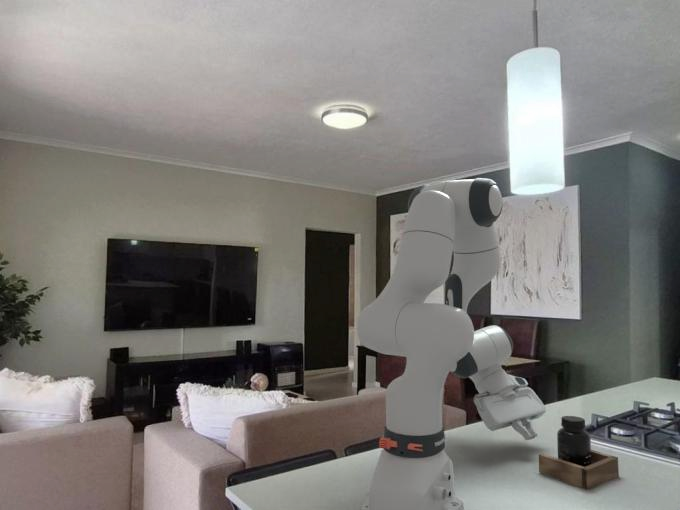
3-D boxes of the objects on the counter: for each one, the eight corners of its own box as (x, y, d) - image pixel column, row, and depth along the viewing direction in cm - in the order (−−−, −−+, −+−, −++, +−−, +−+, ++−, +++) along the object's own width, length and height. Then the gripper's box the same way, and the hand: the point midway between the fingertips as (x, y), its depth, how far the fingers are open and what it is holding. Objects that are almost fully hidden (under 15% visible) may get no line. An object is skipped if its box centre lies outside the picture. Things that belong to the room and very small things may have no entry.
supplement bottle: (596, 480, 106) (593, 423, 106) (562, 477, 107) (560, 422, 108) (586, 467, 112) (584, 414, 113) (555, 466, 114) (553, 413, 114)
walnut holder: (539, 472, 110) (538, 454, 110) (570, 460, 117) (569, 443, 117) (587, 490, 101) (587, 470, 101) (618, 475, 108) (617, 457, 108)
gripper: (477, 388, 120) (512, 439, 111) (528, 377, 131) (564, 423, 122) (463, 402, 123) (496, 453, 115) (515, 391, 134) (548, 437, 126)
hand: (532, 438), depth 119 cm, fingers closed
